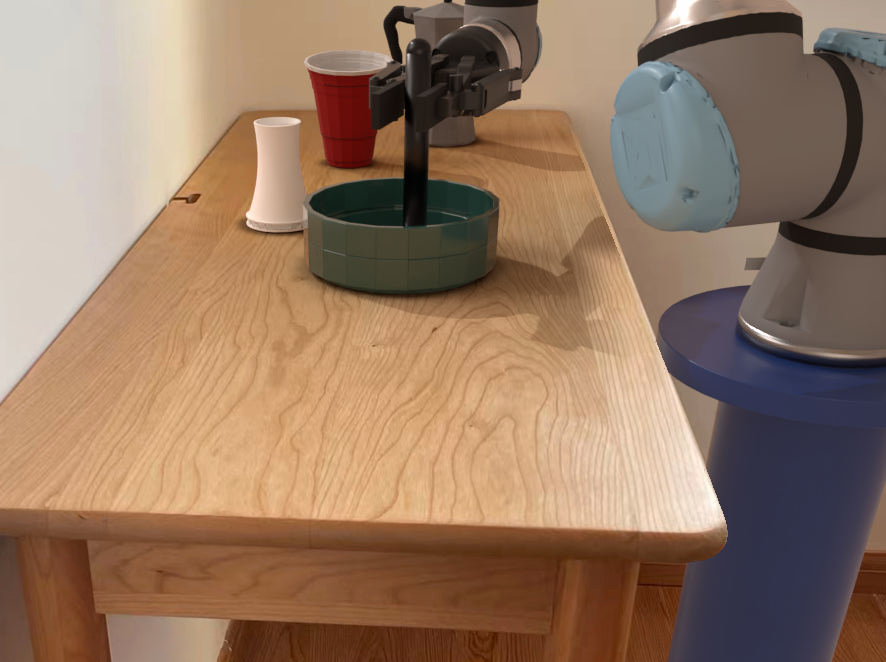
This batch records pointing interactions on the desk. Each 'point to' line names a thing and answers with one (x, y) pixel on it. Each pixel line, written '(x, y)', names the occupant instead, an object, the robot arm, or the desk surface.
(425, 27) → the coffeepot
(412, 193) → the black stick
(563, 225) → the desk surface
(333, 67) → the plastic cup
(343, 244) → the bowl
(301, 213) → the vase
